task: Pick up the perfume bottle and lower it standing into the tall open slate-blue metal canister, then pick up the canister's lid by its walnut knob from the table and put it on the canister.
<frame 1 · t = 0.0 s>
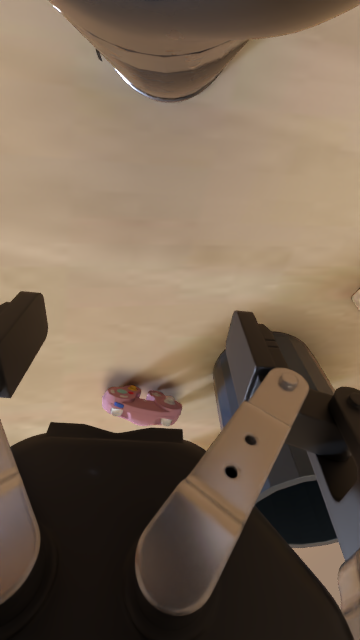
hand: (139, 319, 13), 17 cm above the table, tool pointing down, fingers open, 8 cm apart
canister: (262, 371, 38), on the table
video game controller: (143, 390, 40), on the table
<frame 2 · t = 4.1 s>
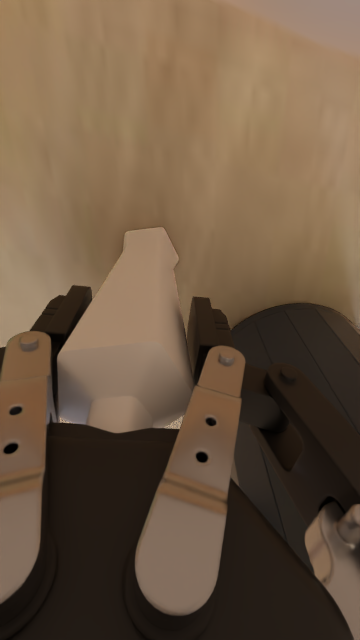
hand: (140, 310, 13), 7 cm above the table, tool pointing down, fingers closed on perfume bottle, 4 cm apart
canister: (283, 366, 25), on the table
perfume bottle: (150, 251, 20), on the table, touching gripper
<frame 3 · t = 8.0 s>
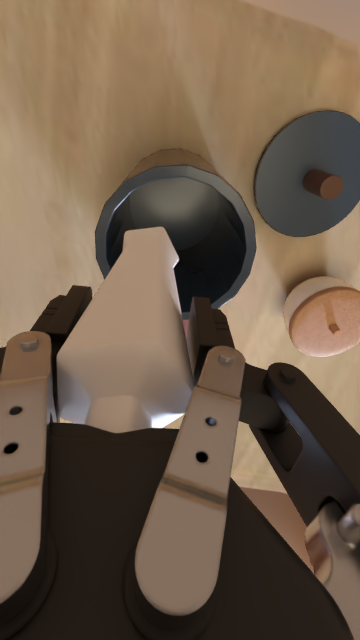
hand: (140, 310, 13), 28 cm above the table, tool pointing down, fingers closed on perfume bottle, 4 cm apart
trinket box: (308, 297, 46), on the table
canister: (174, 205, 37), on the table
lid: (310, 179, 36), point 1 cm above the table
perfume bottle: (150, 250, 20), point 20 cm above the table, touching gripper
when the fingers open (14 cm above the table, at t = 11.9 s): perfume bottle drops 5 cm, resting on canister.
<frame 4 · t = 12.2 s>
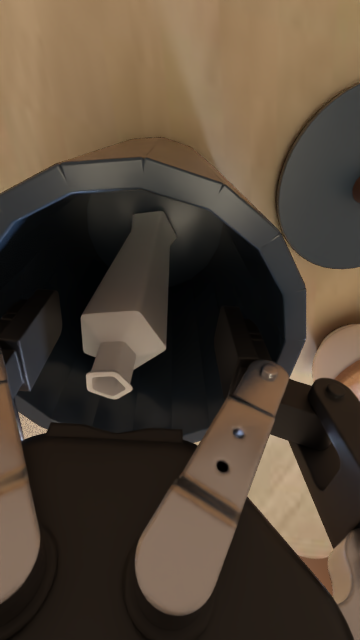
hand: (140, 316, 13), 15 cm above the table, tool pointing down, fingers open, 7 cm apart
trinket box: (345, 345, 33), on the table
canister: (155, 224, 25), on the table
perfume bottle: (153, 229, 24), point 1 cm above the table, touching canister
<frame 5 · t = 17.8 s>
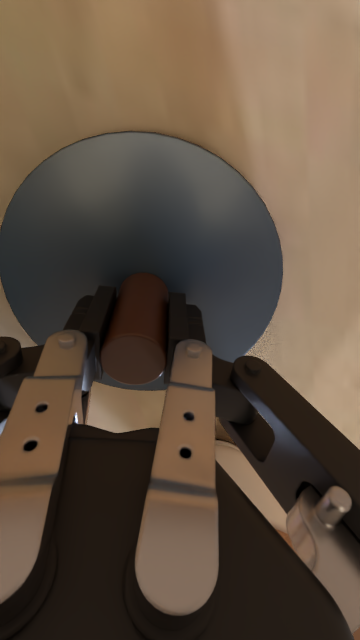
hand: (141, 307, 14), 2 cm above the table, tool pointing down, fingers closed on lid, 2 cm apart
trinket box: (207, 459, 25), on the table
lid: (145, 288, 15), point 1 cm above the table, touching gripper
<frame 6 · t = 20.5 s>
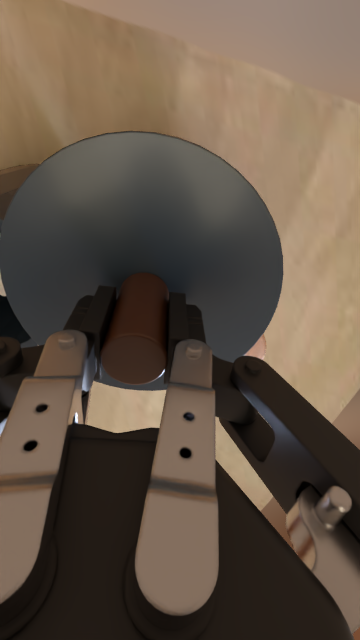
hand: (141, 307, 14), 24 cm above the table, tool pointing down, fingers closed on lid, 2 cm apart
canister: (50, 223, 35), on the table
lid: (145, 288, 15), point 22 cm above the table, touching gripper
when the fingers open (19 cm above the table, at t = 23.5 s): lid stays where it is, resting on canister.
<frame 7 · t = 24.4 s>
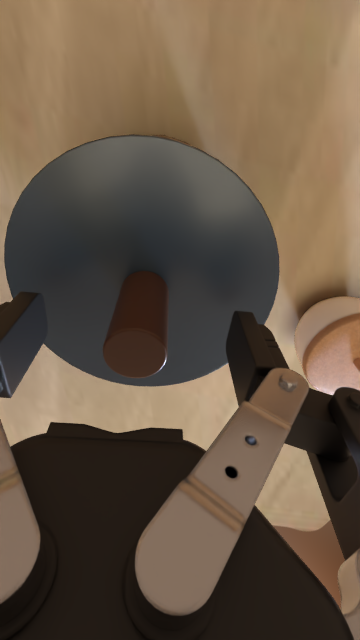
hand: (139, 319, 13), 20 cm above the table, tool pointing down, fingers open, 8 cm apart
trinket box: (324, 318, 38), on the table
lid: (146, 286, 16), point 17 cm above the table, touching canister
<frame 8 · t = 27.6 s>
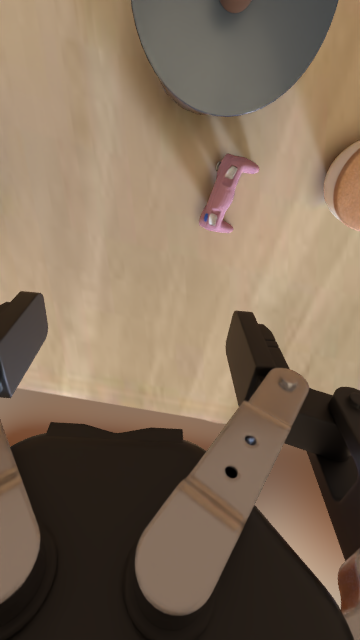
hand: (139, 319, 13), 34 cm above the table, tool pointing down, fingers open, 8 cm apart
trinket box: (349, 177, 41), on the table
video game controller: (224, 192, 42), on the table
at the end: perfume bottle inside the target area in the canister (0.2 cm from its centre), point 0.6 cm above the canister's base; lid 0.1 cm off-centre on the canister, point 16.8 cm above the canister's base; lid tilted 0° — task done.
